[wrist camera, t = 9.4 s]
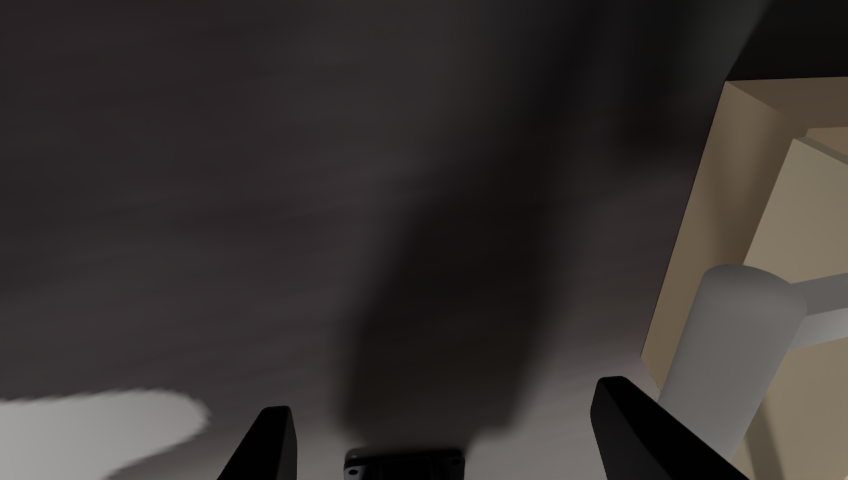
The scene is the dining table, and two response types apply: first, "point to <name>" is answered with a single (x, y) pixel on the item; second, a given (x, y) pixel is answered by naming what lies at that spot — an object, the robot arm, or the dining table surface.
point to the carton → (739, 188)
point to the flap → (775, 334)
